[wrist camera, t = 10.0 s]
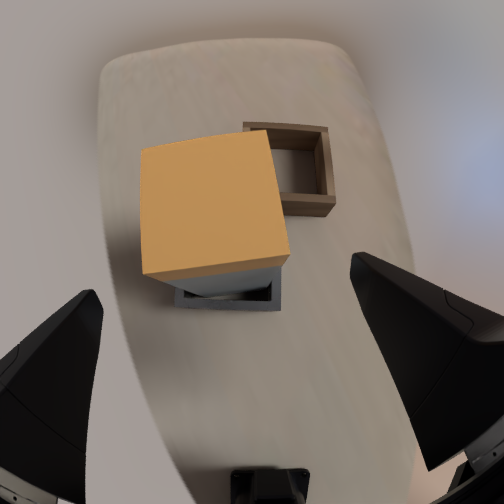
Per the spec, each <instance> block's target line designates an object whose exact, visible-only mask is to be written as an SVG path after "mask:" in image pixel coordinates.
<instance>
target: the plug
mask: <svg viewBox="0 0 504 504" xmlns="http://www.w3.org/2000/svg"><path fill="white" fill-rule="evenodd" d="M140 226H141V253H142V269H143V274H144V275H146V276H149V277H151V278H154V279H157V280H159V281H162V282H164V283H167V284H170V285H172V286H175V287H178V288H180V289H183V290H186V291H189V292H191V293H194V294H197V295H200V296H203V297H205V298H207V297H215V296H223V295H231V294H238V293H245V292H252V291H259V290H265V289H266V288H267V287H268V285H269V284H270V282H271V281H272V280H273V278H274V277H275V275H276V274H277V272H278V271H279V270H280V268H281V267H282V265H283V264H284V263H285V261H286V260H287V258H288V257H289V255H290V249H289V243H288V237H287V232H286V226H285V221H284V215H283V210H282V205H281V200H280V194H279V189H278V184H277V179H276V174H275V169H274V164H273V160H272V155H271V150H270V145H269V141H268V136H267V132H266V130H258V131H248V132H239V133H231V134H223V135H216V136H209V137H203V138H197V139H191V140H185V141H180V142H174V143H169V144H164V145H159V146H155V147H150V148H146V149H142V152H141V178H140Z"/></svg>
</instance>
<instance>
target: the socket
mask: <svg viewBox="0 0 504 504" xmlns="http://www.w3.org/2000/svg"><path fill="white" fill-rule="evenodd" d="M174 307H182V308H198V309H219V310H248V311H281V268H280V270H279V271H278V272H277V274H276V275H275V277H274V278H273V280H272V281H271V282H270V284H269V298H268V301H237V300H210V299H193V293H191V292H189V291H186V290H183V289H180V288H178V287H175V304H174Z"/></svg>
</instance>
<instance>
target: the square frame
mask: <svg viewBox="0 0 504 504" xmlns="http://www.w3.org/2000/svg"><path fill="white" fill-rule="evenodd" d="M258 130H266V132H267V136H268V141H269V145H270V148H273V149H292V150H306V151H314V157H315V168H316V181H317V194H300V193H279V194H280V200H281V205H282V210H283V215H292V216H315V217H326V216H327V215H328V213H329V212H330V211H331V210H332V208H333V207H334V206H335V204H336V195H335V184H334V175H333V165H332V157H331V149H330V141H329V134H328V127H321V126H311V125H300V124H286V123H268V122H243V132H248V131H258Z"/></svg>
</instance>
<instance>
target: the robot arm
mask: <svg viewBox="0 0 504 504" xmlns="http://www.w3.org/2000/svg"><path fill="white" fill-rule="evenodd" d="M350 279H351V282H352V285H353V288H354V290H355V293H356V296H357V298H358V301H359V304H360V307H361V310H362V312H363V315H364V317H365V319H366V321H367V323H368V325H369V328H370V330H371V332H372V334H373V336H374V338H375V340H376V342H377V344H378V347H379V349H380V351H381V353H382V355H383V357H384V360H385V362H386V364H387V366H388V369H389V371H390V373H391V375H392V378H393V380H394V382H395V385H396V387H397V389H398V392H399V394H400V397H401V399H402V402H403V404H404V407H405V409H406V412H407V414H408V417H409V418H410V422H411V425H412V427H413V430H414V433H415V436H416V438H417V441H418V444H419V447H420V449H421V452H422V455H423V458H424V461H425V464H426V467H427V469H428V471H431V470H433V469H435V468H437V467H438V466H440V465H442V464H444V463H445V462H447V461H449V460H450V459H452V458H454V457H455V456H457V455H458V454H460V453H462V452H463V451H464V452H465V454H466V456H467V459H468V460H467V461H466V462H464V463H463V464H461V465H460V466H458V467H457V469H456V472H455V475H454V477H453V480H452V482H451V485H450V487H449V490H448V492H447V494H445V495H444V496H442V497H440V498H439V499H437V500H435V501H433V502H432V503H430V504H504V316H502V315H500V314H497V313H495V312H492V311H491V310H488V309H486V308H484V307H481V306H479V305H477V304H474V303H472V302H470V301H468V300H465V299H463V298H461V297H459V296H457V295H455V294H453V293H451V292H449V291H447V290H443V288H441V287H439V286H437V285H435V284H433V283H430V282H429V281H426V280H424V279H422V278H420V277H418V276H416V275H414V274H412V273H410V272H408V271H405V270H403V269H401V268H399V267H397V266H395V265H392V264H390V263H388V262H386V261H384V260H382V259H379V258H377V257H375V256H373V255H370V254H368V253H366V252H358V253H354V254H353V255H352V259H351V268H350ZM102 321H103V307H102V305H101V303H100V300H99V298H98V296H97V295H96V292H95V291H94V290H92V289H89V290H83V291H81V292H80V293H79V294H78V295H76V296H75V297H74V298H73V299H71V300H70V301H69V302H68V303H66V304H65V305H64V306H63V307H61V308H60V309H59V310H58V311H57V312H55V313H54V314H53V315H51V316H50V317H49V318H48V319H47V320H46V321H44V322H43V323H42V324H41V325H40V326H38V327H37V328H36V329H35V330H34V331H33V332H31V333H30V334H29V335H28V336H27V337H26V338H24V339H23V340H22V341H21V342H20V344H18V345H17V346H16V347H14V348H13V349H12V350H11V351H10V352H9V353H8V354H6V355H5V356H4V357H3V358H2V359H1V360H0V504H57V503H58V498H59V499H62V500H65V501H68V502H71V503H74V504H86V503H85V502H86V500H85V466H86V464H85V463H86V443H87V430H88V419H89V410H90V402H91V395H92V388H93V382H94V376H95V370H96V364H97V359H98V354H99V347H100V338H101V330H102ZM303 473H306V474H305V475H302V474H303ZM234 475H239V477H235V476H234ZM309 478H310V473H309V471H308V470H307V469H296V470H286V469H283V470H256V471H242V470H235V471H232V473H231V504H306V498H307V492H308V485H309Z"/></svg>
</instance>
